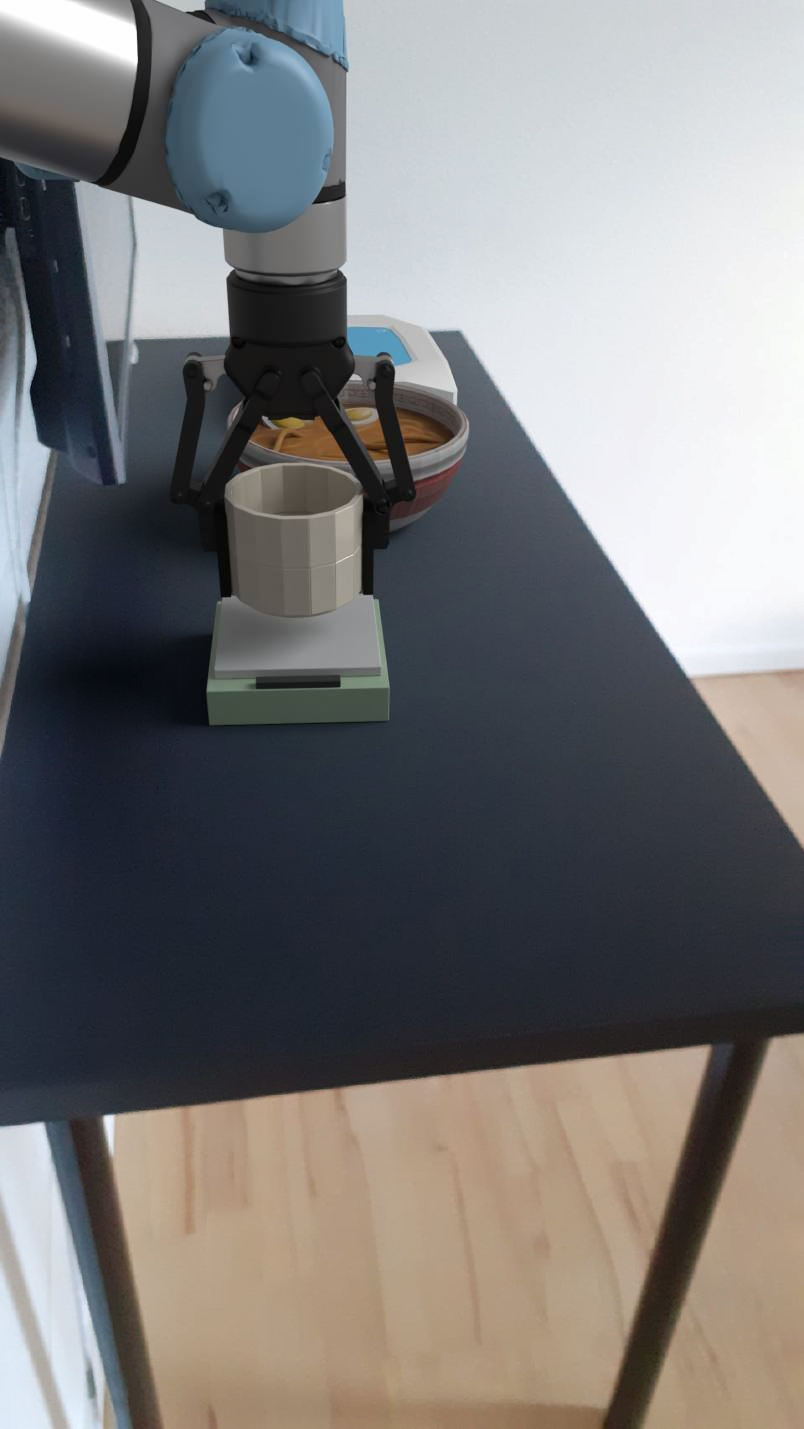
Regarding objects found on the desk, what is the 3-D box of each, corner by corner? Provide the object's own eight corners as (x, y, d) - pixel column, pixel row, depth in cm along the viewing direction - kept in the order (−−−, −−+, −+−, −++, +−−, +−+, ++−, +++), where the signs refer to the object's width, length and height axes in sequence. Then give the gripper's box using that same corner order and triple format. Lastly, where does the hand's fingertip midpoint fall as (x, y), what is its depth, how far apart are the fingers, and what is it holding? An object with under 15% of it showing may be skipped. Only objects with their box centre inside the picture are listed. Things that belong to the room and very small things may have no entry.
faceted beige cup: (229, 624, 76) (220, 519, 71) (235, 561, 84) (228, 463, 79) (365, 621, 77) (366, 517, 72) (359, 559, 84) (359, 462, 80)
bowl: (265, 462, 118) (261, 371, 113) (473, 480, 116) (480, 388, 110) (203, 555, 100) (194, 451, 94) (449, 579, 97) (455, 474, 92)
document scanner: (277, 437, 124) (275, 383, 121) (262, 362, 147) (260, 315, 143) (456, 431, 128) (459, 378, 124) (414, 358, 150) (416, 312, 147)
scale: (209, 725, 78) (205, 682, 76) (219, 633, 89) (216, 592, 86) (388, 721, 79) (390, 677, 77) (377, 630, 90) (378, 589, 87)
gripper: (457, 256, 71) (441, 561, 84) (112, 253, 69) (150, 566, 82) (472, 285, 65) (452, 609, 78) (94, 283, 63) (138, 615, 76)
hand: (297, 587), depth 80 cm, fingers closed on faceted beige cup, 10 cm apart
